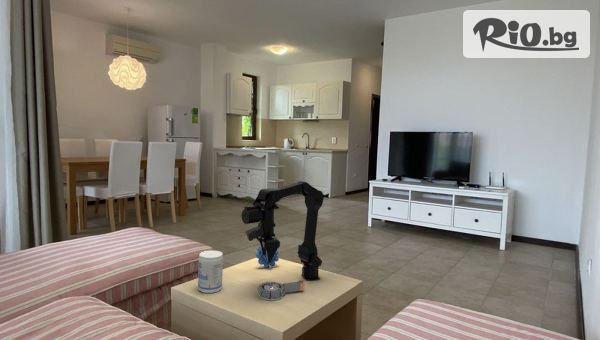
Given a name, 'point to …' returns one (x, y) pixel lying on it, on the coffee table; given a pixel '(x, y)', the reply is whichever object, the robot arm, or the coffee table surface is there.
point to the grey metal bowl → (271, 288)
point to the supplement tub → (210, 271)
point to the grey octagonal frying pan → (280, 289)
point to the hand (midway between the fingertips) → (266, 258)
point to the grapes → (266, 258)
